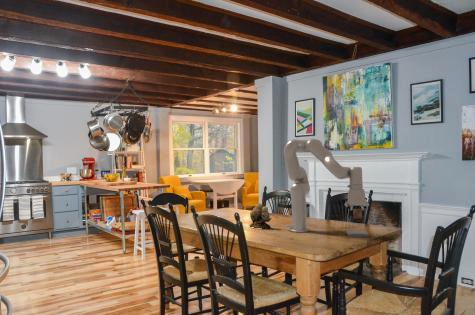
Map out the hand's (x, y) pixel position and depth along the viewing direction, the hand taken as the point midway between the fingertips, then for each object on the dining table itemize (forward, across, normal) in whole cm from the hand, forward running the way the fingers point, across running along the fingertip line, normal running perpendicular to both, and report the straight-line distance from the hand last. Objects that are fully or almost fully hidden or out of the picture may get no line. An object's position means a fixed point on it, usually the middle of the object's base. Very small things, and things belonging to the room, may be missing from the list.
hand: (357, 216), depth 228 cm
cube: (+1, 0, 0) cm, 1 cm away
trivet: (+11, 0, 0) cm, 11 cm away
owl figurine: (+11, -62, +21) cm, 67 cm away
